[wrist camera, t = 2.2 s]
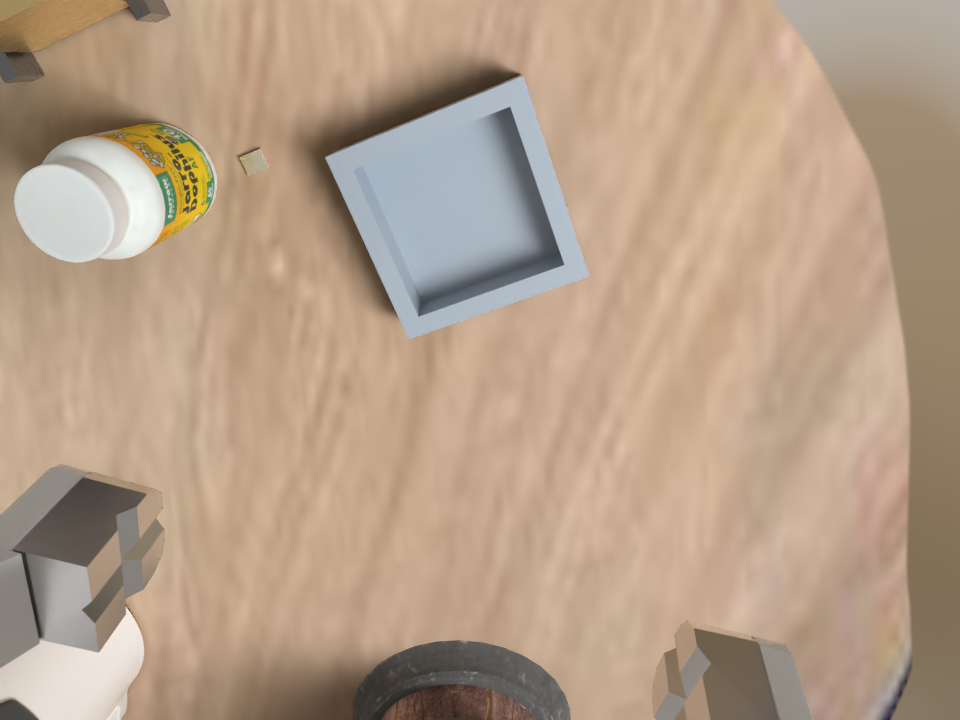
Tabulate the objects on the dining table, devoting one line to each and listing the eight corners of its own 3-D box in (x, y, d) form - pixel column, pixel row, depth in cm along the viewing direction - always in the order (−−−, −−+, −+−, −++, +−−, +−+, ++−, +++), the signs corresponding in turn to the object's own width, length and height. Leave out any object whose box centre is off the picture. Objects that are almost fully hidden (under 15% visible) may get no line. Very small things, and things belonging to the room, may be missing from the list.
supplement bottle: (99, 143, 35) (-35, 171, 26) (188, 105, 34) (80, 122, 25) (153, 239, 37) (45, 295, 28) (238, 206, 36) (155, 253, 27)
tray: (415, 319, 39) (408, 339, 36) (338, 149, 35) (325, 157, 32) (582, 259, 37) (589, 276, 34) (521, 74, 33) (523, 75, 30)
